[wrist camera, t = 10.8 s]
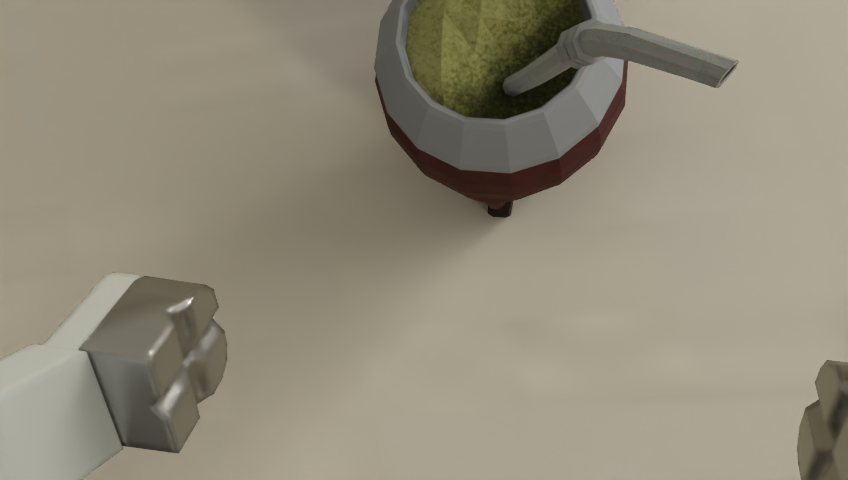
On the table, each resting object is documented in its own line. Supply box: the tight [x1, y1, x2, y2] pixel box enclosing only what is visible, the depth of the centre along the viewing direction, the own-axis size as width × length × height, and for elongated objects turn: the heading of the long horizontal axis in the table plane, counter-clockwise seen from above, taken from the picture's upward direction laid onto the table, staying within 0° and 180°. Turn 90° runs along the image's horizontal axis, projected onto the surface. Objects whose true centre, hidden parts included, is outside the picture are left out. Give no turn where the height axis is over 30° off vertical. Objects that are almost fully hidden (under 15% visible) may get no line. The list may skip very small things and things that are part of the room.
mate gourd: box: [374, 0, 739, 218], centre depth 20 cm, size 8×8×15 cm
